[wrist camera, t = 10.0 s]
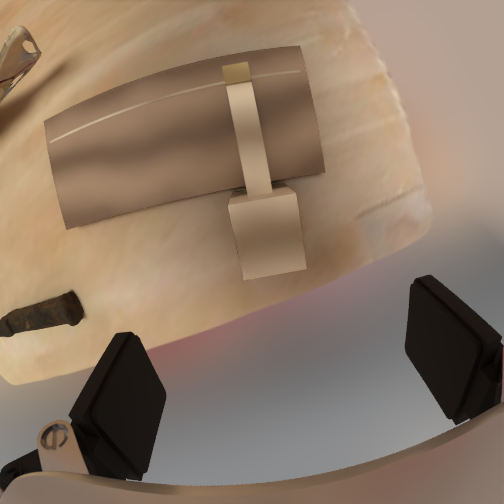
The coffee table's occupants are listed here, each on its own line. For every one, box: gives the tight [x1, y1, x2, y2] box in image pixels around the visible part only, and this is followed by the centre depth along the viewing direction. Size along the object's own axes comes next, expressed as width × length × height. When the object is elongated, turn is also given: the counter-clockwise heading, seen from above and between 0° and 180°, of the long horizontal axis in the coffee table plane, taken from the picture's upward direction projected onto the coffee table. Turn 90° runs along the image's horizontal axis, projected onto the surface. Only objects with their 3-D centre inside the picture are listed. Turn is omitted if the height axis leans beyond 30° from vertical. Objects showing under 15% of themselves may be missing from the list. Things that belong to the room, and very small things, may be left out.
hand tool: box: [0, 292, 83, 337], centre depth 30 cm, size 19×4×5 cm, turn 103°
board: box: [44, 46, 325, 230], centre depth 24 cm, size 12×26×3 cm, turn 101°
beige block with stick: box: [222, 62, 307, 281], centre depth 23 cm, size 17×5×7 cm, turn 11°
